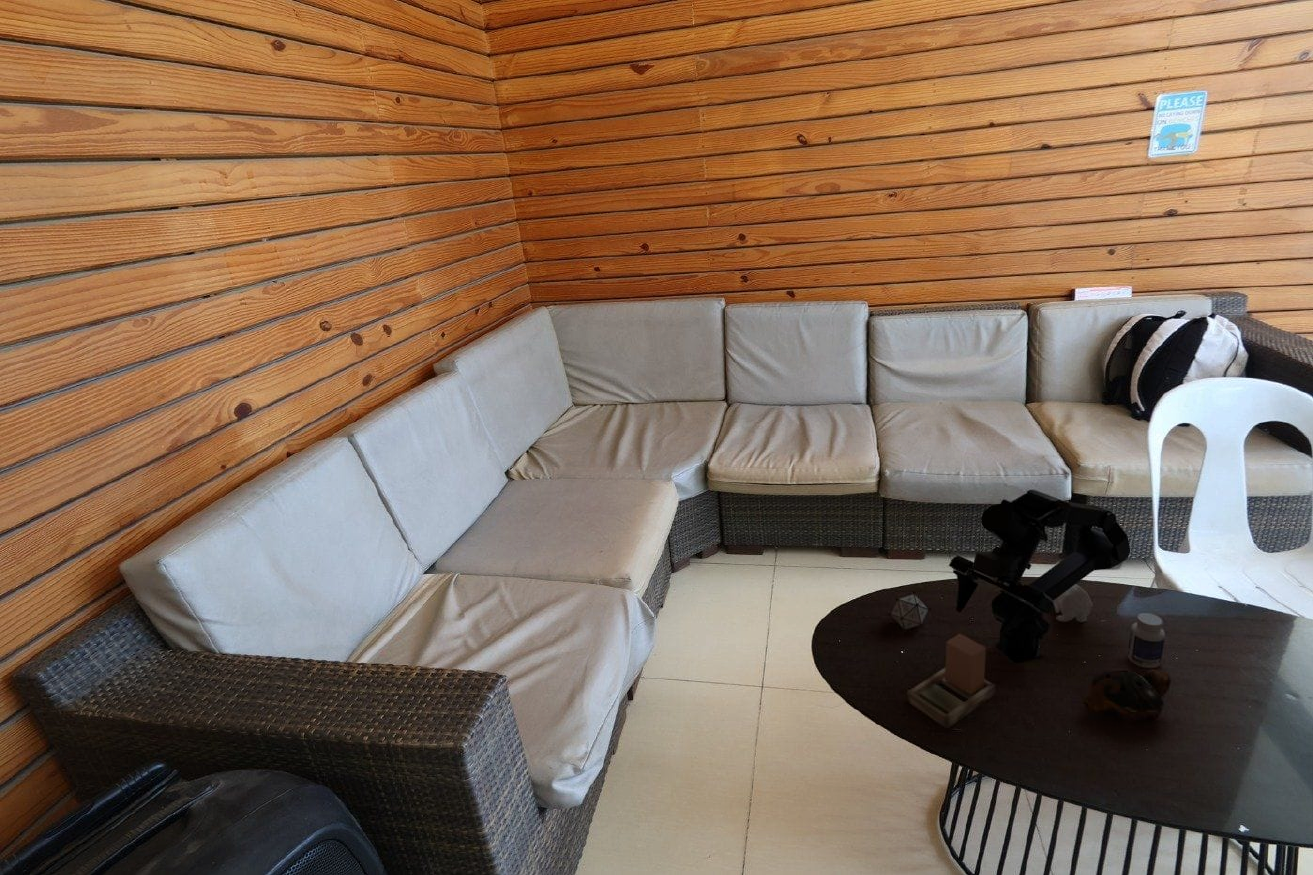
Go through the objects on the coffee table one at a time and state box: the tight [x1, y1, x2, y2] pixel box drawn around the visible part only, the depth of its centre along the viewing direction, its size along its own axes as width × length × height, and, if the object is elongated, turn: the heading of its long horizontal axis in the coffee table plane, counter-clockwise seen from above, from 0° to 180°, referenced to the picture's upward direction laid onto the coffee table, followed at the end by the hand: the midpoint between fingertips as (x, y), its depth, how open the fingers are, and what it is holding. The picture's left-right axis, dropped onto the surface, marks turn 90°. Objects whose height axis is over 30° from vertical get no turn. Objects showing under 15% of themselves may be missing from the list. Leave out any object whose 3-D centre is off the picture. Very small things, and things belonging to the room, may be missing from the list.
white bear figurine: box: [1053, 583, 1093, 623], centre depth 149 cm, size 6×8×12 cm
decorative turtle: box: [1082, 668, 1172, 725], centre depth 121 cm, size 10×15×8 cm, turn 100°
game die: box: [886, 590, 933, 634], centre depth 150 cm, size 9×8×10 cm
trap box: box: [906, 667, 996, 729], centre depth 130 cm, size 14×9×2 cm, turn 121°
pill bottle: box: [1127, 612, 1166, 669], centre depth 132 cm, size 5×5×10 cm
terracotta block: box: [944, 633, 987, 695], centre depth 130 cm, size 4×6×9 cm
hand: (978, 622), depth 129 cm, fingers open, 9 cm apart
